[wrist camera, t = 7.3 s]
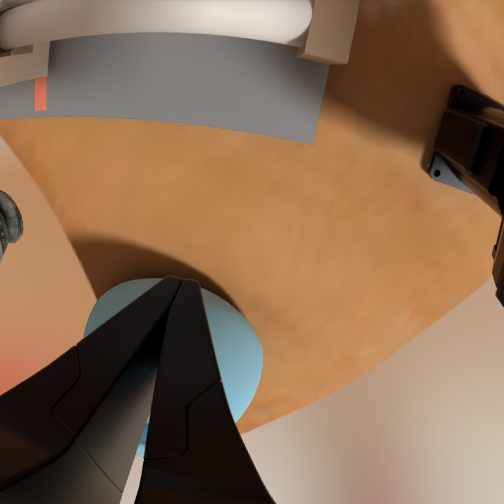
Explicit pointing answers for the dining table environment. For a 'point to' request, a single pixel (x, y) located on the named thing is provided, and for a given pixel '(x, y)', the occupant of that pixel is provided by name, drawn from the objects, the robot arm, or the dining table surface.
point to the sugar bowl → (223, 336)
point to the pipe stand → (182, 61)
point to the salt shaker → (9, 222)
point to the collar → (23, 56)
